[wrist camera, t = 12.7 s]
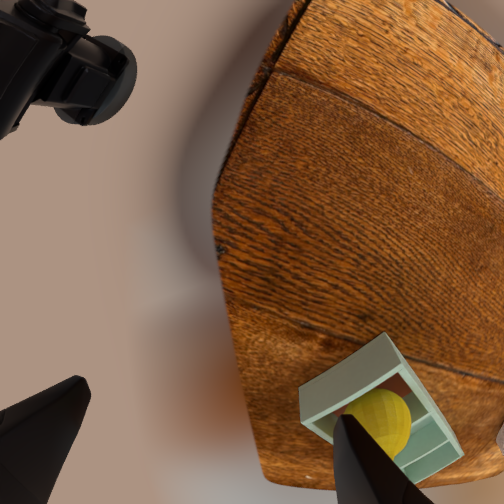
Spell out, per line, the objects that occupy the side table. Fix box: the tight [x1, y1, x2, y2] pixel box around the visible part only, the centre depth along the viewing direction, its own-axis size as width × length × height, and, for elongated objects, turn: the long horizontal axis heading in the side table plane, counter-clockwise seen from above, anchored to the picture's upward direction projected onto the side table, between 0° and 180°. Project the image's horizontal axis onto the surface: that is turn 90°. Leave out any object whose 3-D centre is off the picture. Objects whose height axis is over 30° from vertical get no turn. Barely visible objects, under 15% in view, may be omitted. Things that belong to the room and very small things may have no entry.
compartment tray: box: [299, 332, 465, 484], centre depth 22 cm, size 25×9×4 cm, turn 42°
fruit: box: [344, 388, 411, 460], centre depth 18 cm, size 6×6×8 cm
